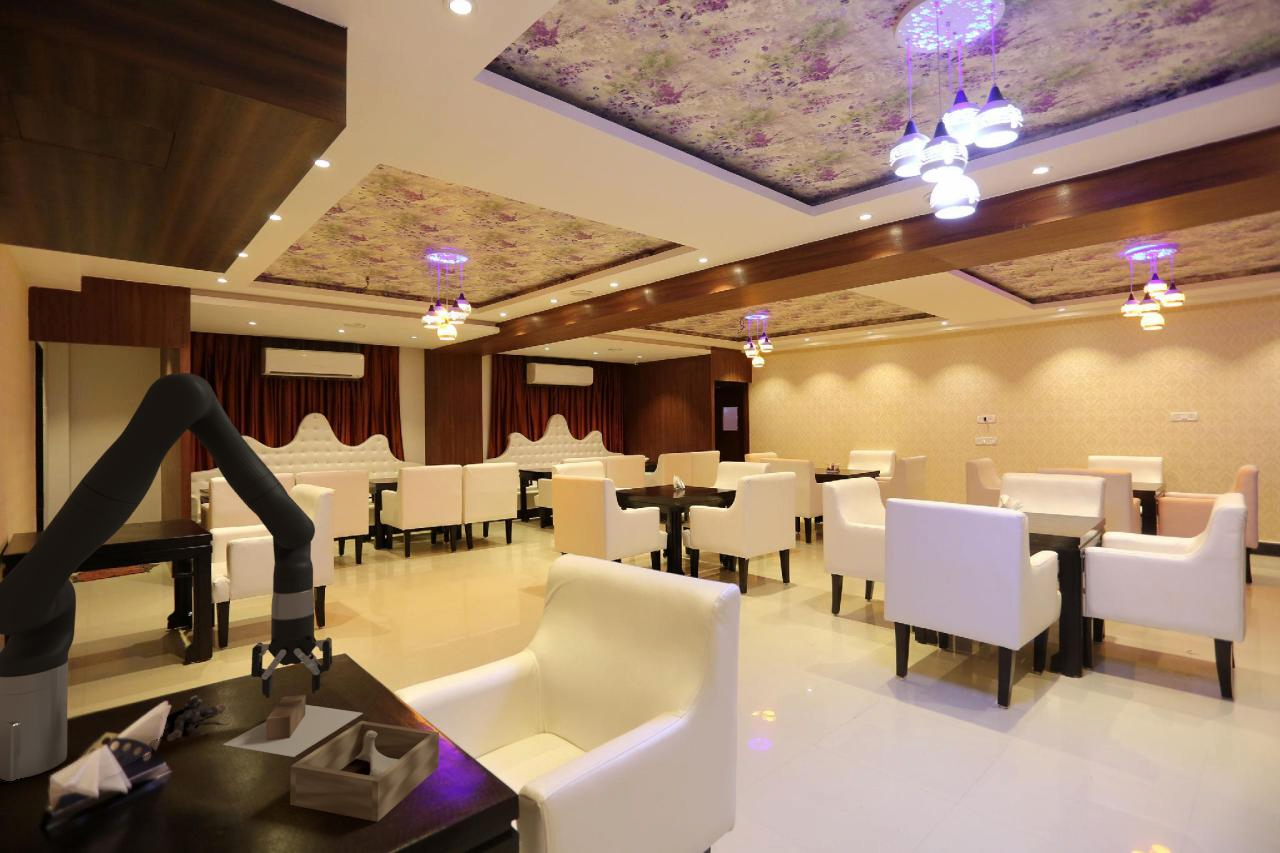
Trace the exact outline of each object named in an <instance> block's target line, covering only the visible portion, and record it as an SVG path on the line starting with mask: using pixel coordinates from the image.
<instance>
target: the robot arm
mask: <svg viewBox="0 0 1280 853" xmlns="http://www.w3.org/2000/svg"><path fill="white" fill-rule="evenodd" d="M187 430H188V431H189V432H190V433H191V434H192V435H193V436H195V438H196V439H197V440H198V441H199V442H200V443H201V445H202V446H203V447H204V448H205V450H206V451H207V452H208V453H209V456H210V457H211V458H212V459H213V461H214V463H215V465H216V466H217V469H219V472H220V473H221V475H222V476H223V478H224V480H225V481H226V482H227V484H228V485H229V486H230V488H231V490H233V491H234V493H235V494H236V495H237V496H238V497H239V498H240V500H241V501H242V502H243V503H244V504H245V505H246V507H247V508H248V509H249V510H251V512H253V513H254V515H256V516H257V517H258V519H259V521H261V523H262V524H263V526H264V527H265V529H266V530H267V531H268V532H269V533H270V535H271V536H272V544H273V545H272V546H273V557H274V558H273V559H274V566H273V573H272V574H273V576H272V579H273V580H272V598H271V605H270V606H271V607H270V608H271V613H270V616H271V623H270V624H271V625H270V629H271V630H270V634H271V635H270V636H271V637H270V643H263V642H260V641H259V642H257V643H256V644H255V645H254V647H252V649H251V671H250V672H251V673H250V676H251V677H253V678H259V679H261V680H262V681H261V683H262V684H261V685H262V686H261V688H262V690H261V693H262V696H265V698H266V699H270V698H271V697H272V696H273V693H274V675H272V673H273V672H274V671H275V670H276V668H277V667H278V665H279V664H280V665H282V666H288V665H300V664H304V666H305V668H308V669H309V670H310V671H311V673H312V675H311V694H312V695H313V694H314V695H315V694H317V693H318V691H319V690H320V689H321V687H322V685H323V684H322V680H323V678H322V676H323V674H322V673H324V672H328V671H330V669H331V667H332V666H333V644H332V642H333V641H332V638H331V637H326V638H325V639H318V640H317V639H316V637H315V609H316V603H315V593H314V566H313V561H312V558H311V556H312V555H311V552H312V551H311V550H312V541H313V539H314V537H315V533H316V528H315V524H314V522H313V519H311V518H310V517H309V516H308V514H306V512H305V511H304V510H303V509H302V508H301V507H300V505H298V504H297V502H296V501H295V500H294V499H293V498H292V497H291V496H290V495H289V494H288V492H287V490H286V489H285V487H284V485H283V484H282V482H280V480H279V479H278V478H277V476H276V475H275V474H274V473H273V472H272V471H271V469H270V468H269V467H268V466H267V465H266V463H264V461H263V460H262V459H261V458H260V456H259V455H258V454H257V453H256V451H255V450H254V449H253V448H252V447H251V446H250V445H249V443H248V442H247V441H246V440H245V439H244V438H243V436H242V435H241V433H240V432H239V430H238V429H237V428H236V426H235V425H234V424H233V423H232V421H231V419H230V417H229V416H228V415H227V413H226V411H225V409H224V408H223V406H222V404H221V403H220V401H219V399H218V397H217V395H216V393H215V392H214V390H213V387H212V386H211V384H210V383H209V382H208V381H207V379H205V378H203V377H201V376H200V375H197V374H193V373H190V372H189V373H188V372H176V373H170V374H169V373H168V374H165V375H163V376H161V377H159V378H157V379H156V380H155V381H154V382H153V383H152V384H151V385H150V386H149V387H148V389H147V391H146V393H145V394H144V396H143V398H142V400H141V402H140V404H139V405H138V407H137V408H136V411H135V412H134V414H133V416H132V417H131V419H130V420H129V422H128V424H127V425H126V427H125V428H124V430H123V431H122V432H121V434H120V435H119V436H118V437H117V439H115V440H114V442H113V443H112V444H111V445H110V446H109V447H107V449H106V450H105V451H104V453H103V454H102V455H101V456H100V457H99V459H97V461H96V462H95V463H94V464H93V466H92V467H91V468H90V469H89V470H88V471H87V472H86V474H85V475H84V476H83V478H82V479H81V480H80V481H79V483H78V484H77V485H76V487H75V488H74V489H73V491H72V492H71V493H70V495H69V496H68V497H67V499H66V500H65V502H64V503H63V505H62V506H61V508H60V509H59V510H58V512H57V513H56V514H55V515H54V517H53V518H52V519H51V521H50V522H49V524H48V525H47V526H46V528H45V529H44V531H43V532H42V534H41V535H40V536H39V538H38V539H37V541H36V542H35V543H34V545H33V546H32V548H30V550H29V551H28V552H27V553H26V554H25V555H24V556H23V558H22V559H21V560H19V562H18V563H17V564H16V565H15V566H14V567H13V568H12V570H11V571H9V573H8V574H7V575H6V576H4V578H3V579H2V580H1V581H0V635H3V636H9V637H8V640H7V642H6V643H5V645H4V647H3V648H2V650H1V651H0V778H1V779H3V780H6V781H14V780H16V779H18V780H21V779H20V778H22V779H26V778H29V777H33V776H36V775H40V774H42V773H45V772H47V771H49V770H52V769H54V768H56V767H58V766H59V765H61V764H62V763H64V762H65V761H66V759H67V758H68V699H69V698H68V696H69V695H68V691H69V689H68V688H69V687H68V686H69V685H68V683H69V682H68V681H69V678H68V677H69V653H70V649H71V646H72V645H73V642H74V639H75V638H74V637H75V630H76V629H75V626H76V613H77V611H76V610H77V597H76V596H77V595H76V590H75V587H74V584H73V582H72V581H71V579H70V578H71V576H72V575H73V574H74V572H75V571H76V570H78V568H79V567H80V565H82V564H83V563H84V561H86V560H87V559H88V558H89V557H90V556H92V554H94V553H95V552H96V551H97V550H99V549H100V547H102V546H104V544H106V543H107V541H108V540H110V539H111V538H112V537H113V536H114V535H115V534H116V533H117V532H118V531H119V530H120V529H122V527H123V526H124V525H125V524H126V522H127V521H128V520H129V519H130V518H131V516H132V515H133V513H134V512H135V511H136V510H137V508H138V507H139V505H140V504H141V502H142V501H143V500H144V498H145V497H146V495H147V494H148V492H149V490H150V488H151V487H152V484H153V482H154V481H155V478H156V476H157V474H158V473H159V470H160V468H161V465H162V462H163V461H164V459H165V457H166V456H167V454H168V452H169V451H170V450H171V448H173V446H174V445H175V444H176V442H178V440H180V438H181V437H182V435H184V433H185V432H187ZM316 647H317V648H318V650H319V651H320V652H322V663H321V662H320V661H319V660H318V658H317V657H316V655H315V654H314V653H313V651H314V650H315V648H316ZM267 652H269V653H270V654H271V656H272V657H273V658H274V659H273V660H272V661H271V663H269V665H268V666H267V668H263V659H264V658H263V657H264V655H265V654H266V653H267ZM25 777H26V778H25ZM6 781H5V782H6ZM16 781H17V780H16ZM14 782H15V781H14Z"/></svg>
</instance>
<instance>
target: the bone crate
mask: <svg viewBox="0 0 1280 853" xmlns="http://www.w3.org/2000/svg"><path fill="white" fill-rule="evenodd" d="M367 731H375V732H376V733H377V736H376V738H375V740H374V745H375V748H376V750H377V751H378V752H379V753H381V754H382V755H384V756H386V757H388V758H393V759H399V760H398V761H396V762H395V763H394V764H393V765H391V766H390V767H389V768H387V769H386V770H385V771H384V772H382V773H381V774H380V775H379V776H377V777H374V776H369V774H368V775H367V774H362V773H361V774H360V773H355V772H351V771H345V770H342V769H344V768H345V767H347V766H348V765H350V764H351V763H352V762H355V760H356V759H355V757H356V756H358V755H359V754H360V753H361V751H362V749H363V745H364V735H365V734H366V732H367ZM439 765H440V731H432V730H427V729H426V730H425V729H420V728H419V729H418V728H413V727H406V726H400V725H390V724H385V723H378V722H373V721H372V722H371V721H365V720H360V721H359V722H357V723H356V724H354V725H352V726H351V727H350V728H348V729H346V730H344V731H343V732H341V733H340V734H338V735H337V736H336V737H333V738H332V739H331V740H329V741H327V742H326V743H325V744H323V745H321V746H320V747H318V748H316V749H315V750H313V751H312V752H311V753H309V754H307V755H306V756H304V757H303V758H301V759H300V760H298V761H297V762H294V763H293V764H292V765H290V784H289V787H290V790H289V792H290V803H289V805H291V806H295V807H300V808H306V809H309V810H310V809H311V810H315V811H320V812H327V813H331V814H337V815H341V816H347V817H352V818H357V819H362V820H368V821H371V822H372V821H373V822H379V821H380V820H382V818H384V817H385V816H386V815H387V814H388V813H389V812H390V811H391V810H392V809H394V808H395V807H396V806H397V805H398V804H399V803H400V802H402V801H403V800H404V799H405V798H406V797H407V796H408V795H409V794H411V792H413V791H414V790H415V789H416V788H417V787H419V785H420V784H422V783H423V782H424V781H425V780H426V779H427V778H428V777H429V776H430V775H432V774H433V773H434V772H435V771H436V770H437V769H439V768H440V767H439Z"/></svg>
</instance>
